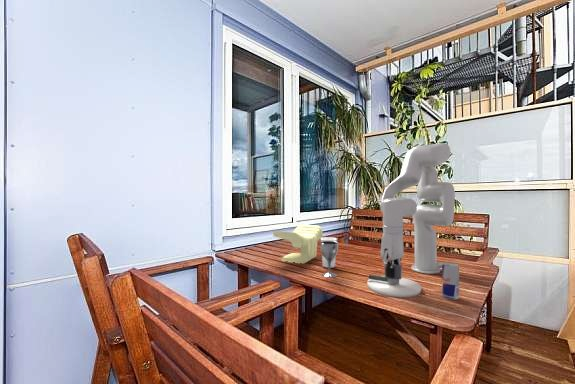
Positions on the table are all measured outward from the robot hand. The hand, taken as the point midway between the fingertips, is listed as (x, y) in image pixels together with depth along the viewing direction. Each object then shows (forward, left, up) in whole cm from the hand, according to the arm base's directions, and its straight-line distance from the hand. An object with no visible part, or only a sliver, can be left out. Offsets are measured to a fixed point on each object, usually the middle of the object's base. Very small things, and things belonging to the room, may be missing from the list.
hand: (393, 275), depth 111 cm
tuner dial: (0, 0, -5) cm, 5 cm away
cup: (+25, -28, -5) cm, 38 cm away
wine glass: (+25, -14, -5) cm, 29 cm away
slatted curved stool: (+41, -40, -5) cm, 57 cm away
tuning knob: (+3, -1, -3) cm, 4 cm away
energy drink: (-18, +8, -5) cm, 20 cm away
